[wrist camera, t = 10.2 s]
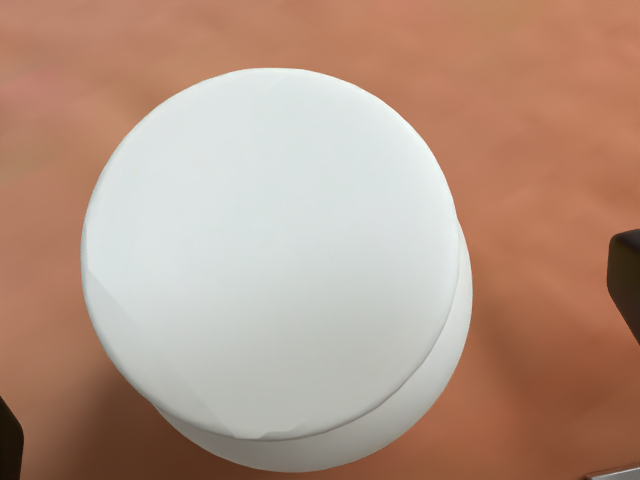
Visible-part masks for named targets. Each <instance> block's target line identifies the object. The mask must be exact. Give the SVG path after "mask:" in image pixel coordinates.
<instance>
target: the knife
mask: <svg viewBox="0 0 640 480" xmlns="http://www.w3.org/2000/svg"><path fill="white" fill-rule="evenodd" d="M585 477H586V480H640V463H637V464H633V465H628V466H623V467H618V468H614V469H609V470H604V471H599V472H595V473H590V474H586V475H585Z"/></svg>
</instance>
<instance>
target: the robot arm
mask: <svg viewBox="0 0 640 480" xmlns="http://www.w3.org/2000/svg"><path fill="white" fill-rule="evenodd" d="M607 287H608V291H609V293H610V296H611V298H612V299H613V301H614V303H615V305H616V306H617V308H618V310H619V311H620V313H621V315H622V316H623V318H624V320H625V322H626V323H627V325H628V327H629V328H630V330H631V332H632V333H633V335H634V337H635V338H636V340H637V342H638V344H639V345H640V229H635V230H631V231H627V232H623V233H618V234H616V235H614V236H613V237H612V238H611V240H610V244H609V255H608V268H607ZM23 445H24V434H23V430H22V427H21V425H20V423H19V422H18V420H17V419H16V417H15V416H14V415H13V413H12V412H11V410H10V409H9V407H8V406H7V405H6V403H5V402H4V400H3V399H2V398H1V396H0V480H20V472H21V463H22V454H23Z"/></svg>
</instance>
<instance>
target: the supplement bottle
mask: <svg viewBox="0 0 640 480" xmlns="http://www.w3.org/2000/svg"><path fill="white" fill-rule="evenodd" d="M81 277H82V286H83V293H84V299H85V303H86V307H87V311H88V313H89V316H90V319H91V322H92V325H93V328H94V330H95V332H96V334H97V336H98V338H99V340H100V342H101V344H102V346H103V348H104V350H105V352H106V354H107V355H108V356H109V358H110V359H111V361H112V362H113V364H114V365H115V366H116V368H117V369H118V370H119V372H120V373H121V374H122V375H123V376H124V377H125V379H126V380H127V381H128V382H129V383H130V384H131V385H132V386H133V387H134V388H135V389H136V390H137V391H138V392H139V393H140V394H141V395H142V396H143V397H145V398H146V399H147V400H148V401H149V402H151V403H152V404H153V406H154V407H155V408H156V409H157V411H158V412H159V413H160V414H161V415H162V416H163V417H164V418H165V419H166V420H167V421H168V422H169V423H170V424H171V425H172V426H173V427H174V428H175V429H176V430H178V431H179V432H180V433H181V434H182V435H184V436H185V437H186V438H188V439H189V440H191V441H192V442H194V443H195V444H197V445H198V446H200V447H201V448H203V449H205V450H207V451H209V452H210V453H212V454H214V455H216V456H219V457H221V458H224V459H226V460H229V461H231V462H234V463H237V464H239V465H243V466H247V467H251V468H254V469H260V470H267V471H275V472H292V473H298V472H312V471H319V470H325V469H329V468H333V467H337V466H341V465H345V464H348V463H351V462H354V461H356V460H359V459H362V458H364V457H366V456H369V455H371V454H373V453H375V452H377V451H379V450H380V449H382V448H384V447H386V446H387V445H389V444H390V443H392V442H393V441H395V440H396V439H398V438H399V437H400V436H402V435H403V434H404V433H405V432H406V431H408V430H409V429H410V428H411V427H412V426H413V425H414V424H415V423H417V422H418V421H419V420H420V419H421V418H422V416H423V415H424V414H425V413H426V412H427V411H428V410H429V409H430V408H431V407H432V405H433V404H434V403H435V401H436V400H437V399H438V397H439V396H440V395H441V393H442V392H443V390H444V389H445V387H446V385H447V384H448V382H449V380H450V378H451V376H452V374H453V372H454V371H455V369H456V366H457V364H458V362H459V360H460V357H461V354H462V351H463V349H464V345H465V342H466V338H467V334H468V330H469V326H470V320H471V311H472V298H473V287H472V273H471V265H470V258H469V253H468V249H467V245H466V241H465V238H464V235H463V232H462V229H461V226H460V224H459V222H458V219H457V216H456V211H455V206H454V202H453V198H452V195H451V192H450V190H449V187H448V184H447V182H446V179H445V176H444V174H443V172H442V170H441V168H440V167H439V165H438V163H437V161H436V159H435V157H434V155H433V153H432V152H431V150H430V149H429V147H428V146H427V145H426V143H425V142H424V140H423V139H422V138H421V137H420V136H419V134H418V133H417V132H416V131H415V130H414V129H413V128H412V127H411V125H410V124H409V123H408V122H406V121H405V120H404V119H403V118H402V117H401V116H400V115H399V114H398V113H397V112H396V111H394V110H393V109H392V108H391V107H389V106H388V105H387V104H385V103H384V102H383V101H381V100H380V99H379V98H377V97H375V96H374V95H372V94H370V93H368V92H366V91H365V90H363V89H361V88H359V87H357V86H355V85H353V84H351V83H348V82H346V81H343V80H340V79H338V78H335V77H332V76H328V75H324V74H321V73H317V72H312V71H308V70H303V69H288V68H256V69H247V70H239V71H234V72H230V73H226V74H223V75H220V76H216V77H213V78H210V79H207V80H204V81H202V82H200V83H197V84H195V85H193V86H191V87H188V88H187V89H185V90H183V91H181V92H179V93H178V94H176V95H174V96H172V97H170V98H169V99H167V100H166V101H164V102H163V103H161V104H160V105H158V106H157V107H156V108H155V109H153V110H152V111H151V112H150V113H149V114H148V115H147V116H145V117H144V118H143V119H142V120H141V121H140V122H139V123H138V124H137V125H136V126H135V127H134V128H133V129H132V130H131V131H130V132H129V133H128V134H127V135H126V136H125V138H124V139H123V140H122V141H121V143H120V144H119V146H118V147H117V148H116V150H115V151H114V153H113V154H112V155H111V157H110V158H109V160H108V162H107V163H106V165H105V167H104V169H103V170H102V172H101V174H100V176H99V179H98V182H97V184H96V186H95V188H94V190H93V192H92V195H91V198H90V201H89V204H88V208H87V212H86V216H85V219H84V225H83V230H82V237H81Z"/></svg>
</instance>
